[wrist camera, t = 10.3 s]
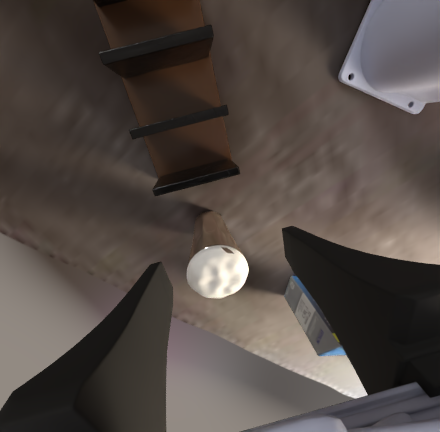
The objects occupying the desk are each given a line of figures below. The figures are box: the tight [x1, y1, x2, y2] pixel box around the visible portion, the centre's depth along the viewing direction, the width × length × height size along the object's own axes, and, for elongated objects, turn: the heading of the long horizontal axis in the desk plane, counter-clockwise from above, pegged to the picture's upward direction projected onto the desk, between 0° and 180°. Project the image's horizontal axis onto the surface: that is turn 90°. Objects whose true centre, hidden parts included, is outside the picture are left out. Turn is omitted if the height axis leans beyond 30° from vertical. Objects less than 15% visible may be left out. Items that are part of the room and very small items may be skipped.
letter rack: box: [93, 0, 240, 196], centre depth 15 cm, size 13×7×5 cm, turn 13°
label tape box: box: [284, 276, 352, 364], centre depth 23 cm, size 9×4×12 cm, turn 80°
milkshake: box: [187, 211, 249, 298], centre depth 18 cm, size 4×5×10 cm
